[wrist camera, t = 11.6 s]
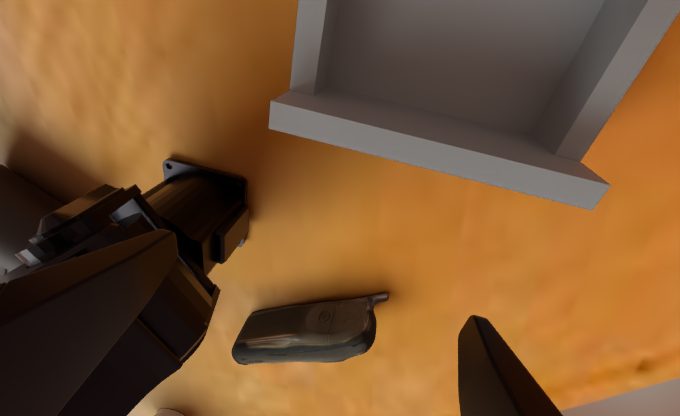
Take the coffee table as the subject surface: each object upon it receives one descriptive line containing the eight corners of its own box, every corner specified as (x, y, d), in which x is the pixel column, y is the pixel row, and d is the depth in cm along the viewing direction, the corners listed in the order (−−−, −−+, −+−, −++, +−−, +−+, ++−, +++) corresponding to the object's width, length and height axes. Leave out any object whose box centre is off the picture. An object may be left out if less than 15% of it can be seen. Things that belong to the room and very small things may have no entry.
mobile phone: (238, 373, 29) (393, 360, 23) (220, 352, 27) (379, 334, 22) (260, 328, 33) (396, 309, 27) (245, 308, 32) (384, 284, 26)
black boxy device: (116, 215, 28) (41, 264, 22) (98, 258, 31) (30, 310, 25) (6, 143, 26) (-108, 176, 20) (0, 197, 29) (-98, 239, 23)
